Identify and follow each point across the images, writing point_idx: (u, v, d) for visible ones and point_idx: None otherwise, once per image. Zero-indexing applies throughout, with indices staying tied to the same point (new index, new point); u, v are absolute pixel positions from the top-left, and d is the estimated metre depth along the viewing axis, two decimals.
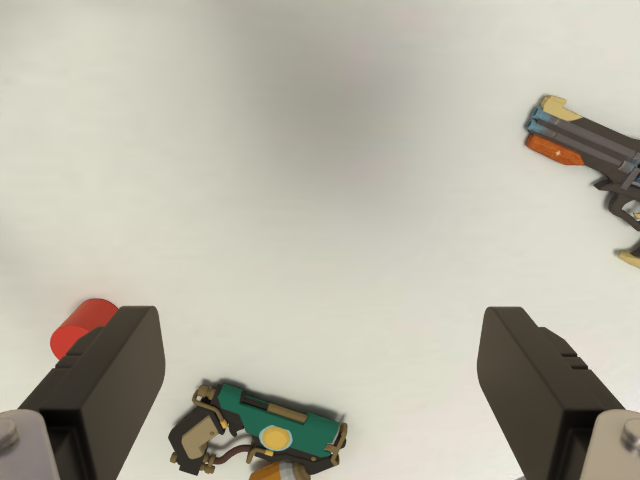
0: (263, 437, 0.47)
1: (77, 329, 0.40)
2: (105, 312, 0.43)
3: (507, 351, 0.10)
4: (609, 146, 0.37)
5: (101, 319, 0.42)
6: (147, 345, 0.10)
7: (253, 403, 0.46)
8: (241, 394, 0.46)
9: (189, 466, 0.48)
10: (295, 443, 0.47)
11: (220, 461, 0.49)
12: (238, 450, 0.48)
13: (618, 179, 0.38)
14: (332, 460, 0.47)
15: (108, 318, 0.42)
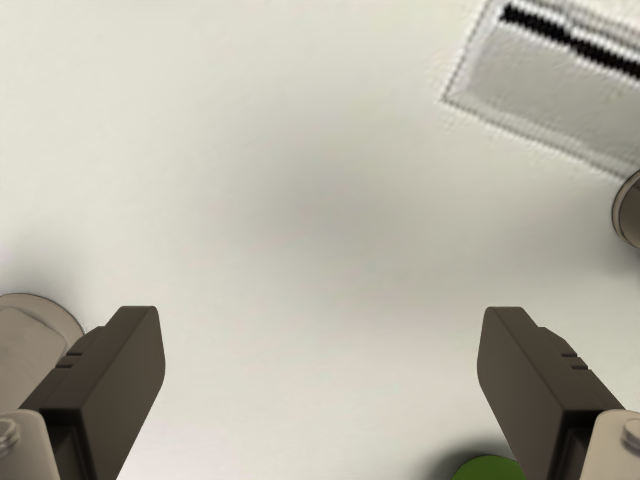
0: None
1: None
2: None
3: (507, 351, 0.10)
4: None
5: None
6: (147, 346, 0.10)
7: None
8: None
9: None
10: None
11: None
12: None
13: None
14: None
15: None
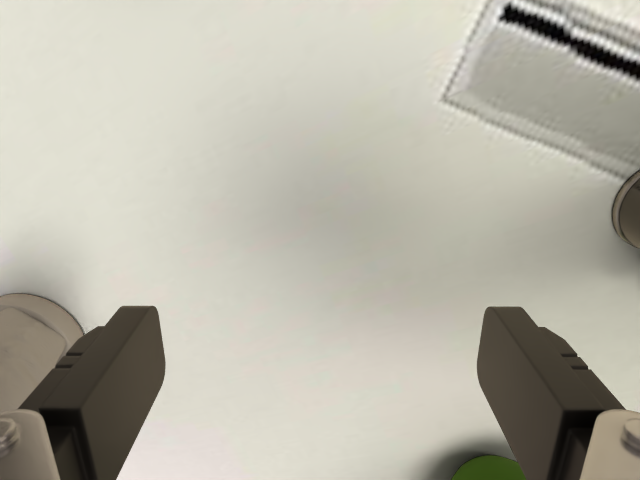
0: None
1: None
2: None
3: (507, 351, 0.10)
4: None
5: None
6: (147, 346, 0.10)
7: None
8: None
9: None
10: None
11: None
12: None
13: None
14: None
15: None
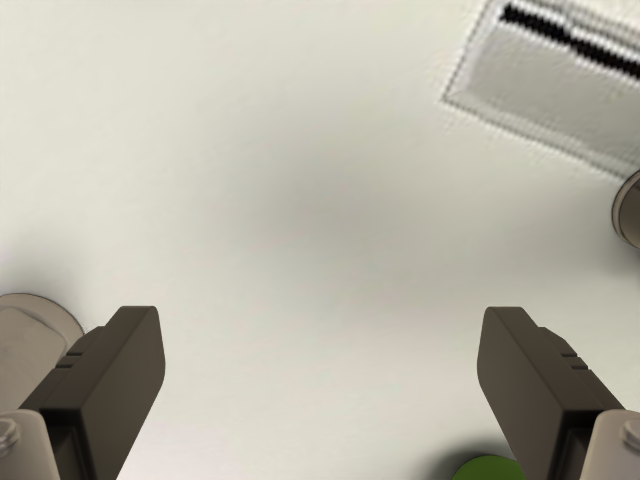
0: None
1: None
2: None
3: (507, 351, 0.10)
4: None
5: None
6: (147, 346, 0.10)
7: None
8: None
9: None
10: None
11: None
12: None
13: None
14: None
15: None
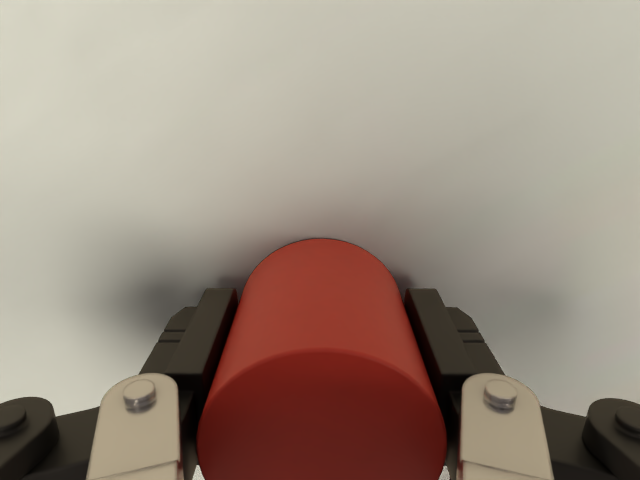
0: None
1: (434, 440, 0.08)
2: None
3: (415, 328, 0.10)
4: None
5: None
6: None
7: None
8: None
9: None
10: None
11: None
12: None
13: None
14: None
15: None
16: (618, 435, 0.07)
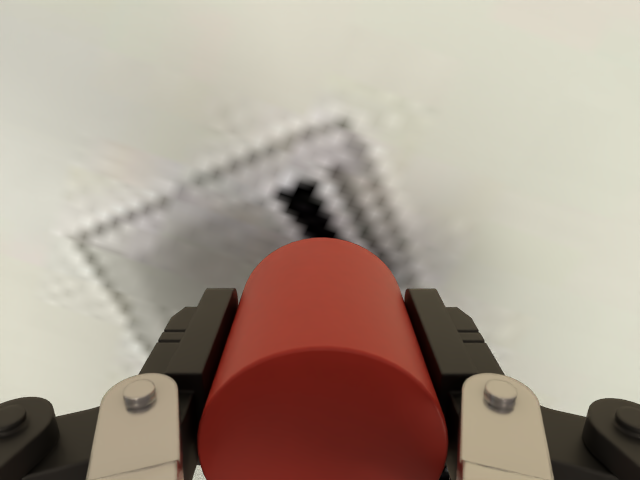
0: None
1: (435, 439, 0.08)
2: None
3: (415, 328, 0.10)
4: None
5: None
6: None
7: None
8: None
9: None
10: None
11: None
12: None
13: None
14: None
15: None
16: (618, 435, 0.07)
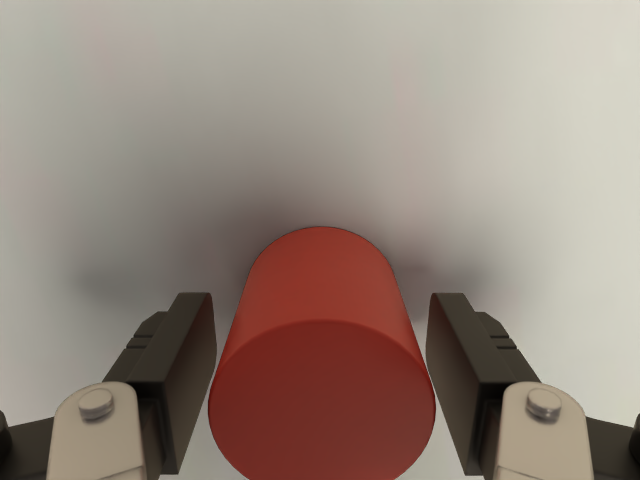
0: None
1: (424, 404, 0.09)
2: None
3: (444, 334, 0.10)
4: None
5: None
6: (205, 330, 0.11)
7: None
8: None
9: None
10: None
11: None
12: None
13: None
14: None
15: None
16: None
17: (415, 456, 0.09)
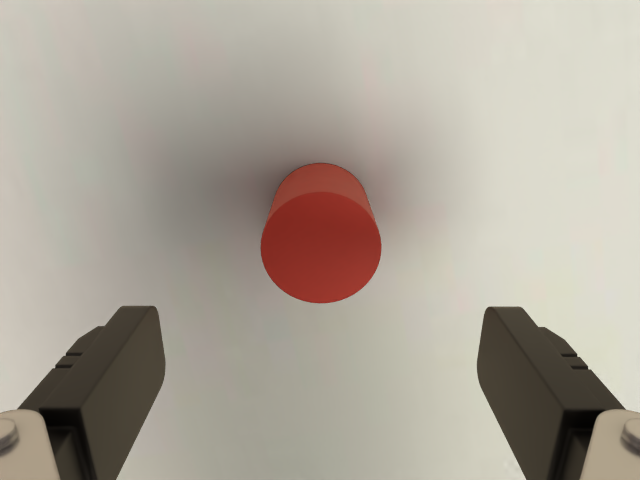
0: None
1: (374, 241, 0.16)
2: None
3: (507, 351, 0.10)
4: None
5: None
6: (147, 346, 0.10)
7: None
8: None
9: None
10: None
11: None
12: None
13: None
14: None
15: None
16: None
17: (371, 273, 0.17)
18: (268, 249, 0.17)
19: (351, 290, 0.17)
